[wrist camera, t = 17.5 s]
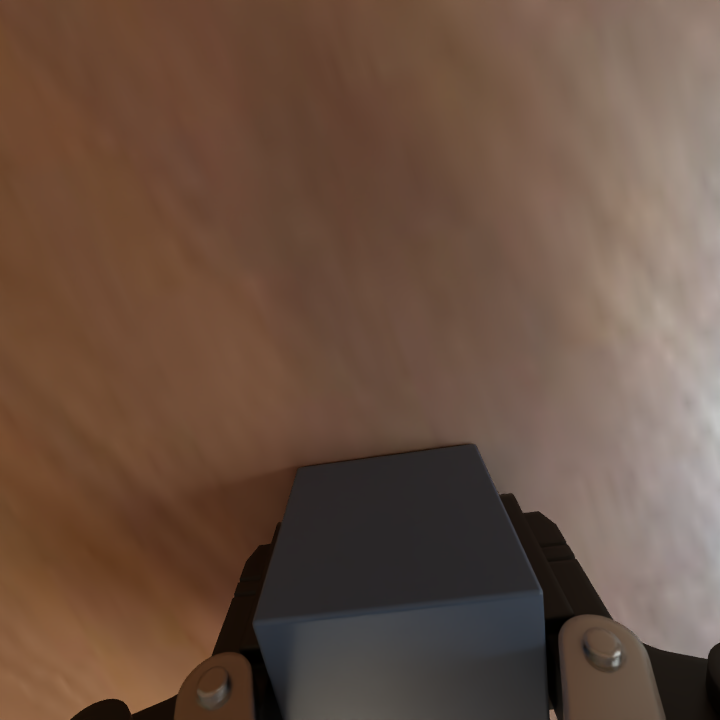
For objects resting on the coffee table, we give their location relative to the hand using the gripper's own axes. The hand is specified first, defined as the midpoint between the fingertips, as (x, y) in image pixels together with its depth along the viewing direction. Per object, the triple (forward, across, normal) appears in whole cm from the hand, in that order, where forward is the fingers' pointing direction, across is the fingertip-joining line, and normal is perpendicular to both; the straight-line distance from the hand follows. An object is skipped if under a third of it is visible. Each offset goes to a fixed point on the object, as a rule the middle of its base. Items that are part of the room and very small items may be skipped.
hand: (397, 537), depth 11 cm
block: (0, 0, 0) cm, 0 cm away
